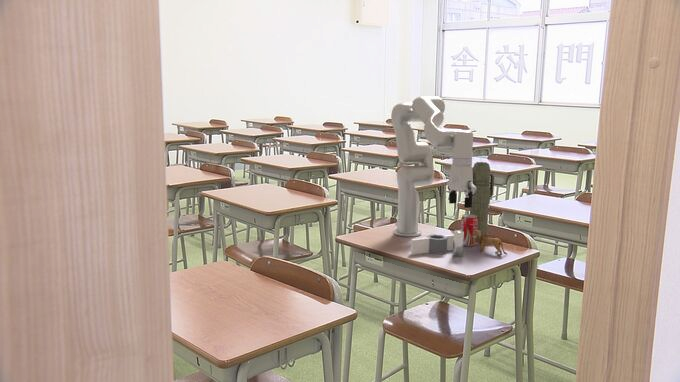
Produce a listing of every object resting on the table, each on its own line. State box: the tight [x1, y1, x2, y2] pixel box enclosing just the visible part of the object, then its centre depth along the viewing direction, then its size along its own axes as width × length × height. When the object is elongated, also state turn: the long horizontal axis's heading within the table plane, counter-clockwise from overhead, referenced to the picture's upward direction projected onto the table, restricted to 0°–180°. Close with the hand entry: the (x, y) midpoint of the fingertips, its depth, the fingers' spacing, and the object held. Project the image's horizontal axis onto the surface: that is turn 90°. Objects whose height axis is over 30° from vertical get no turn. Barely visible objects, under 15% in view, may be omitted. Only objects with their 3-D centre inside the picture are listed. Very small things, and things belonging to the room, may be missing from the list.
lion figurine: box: [472, 230, 508, 257], centre depth 233 cm, size 15×5×9 cm, turn 60°
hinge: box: [410, 233, 454, 256], centre depth 234 cm, size 8×24×6 cm, turn 116°
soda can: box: [459, 213, 478, 247], centre depth 244 cm, size 7×7×13 cm
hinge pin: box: [452, 229, 464, 258], centre depth 228 cm, size 4×4×10 cm
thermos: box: [467, 161, 495, 237], centre depth 249 cm, size 9×12×35 cm
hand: (460, 205), depth 225 cm, fingers open, 9 cm apart
